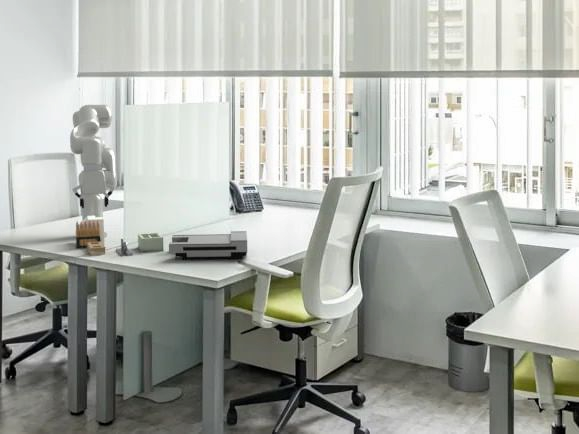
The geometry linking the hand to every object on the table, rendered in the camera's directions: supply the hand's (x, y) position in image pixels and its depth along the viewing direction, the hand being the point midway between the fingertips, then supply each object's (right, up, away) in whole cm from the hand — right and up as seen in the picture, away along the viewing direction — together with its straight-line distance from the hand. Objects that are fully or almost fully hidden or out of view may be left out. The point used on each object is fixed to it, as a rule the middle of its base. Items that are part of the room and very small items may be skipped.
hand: (94, 207), depth 321 cm
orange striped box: (-7, -16, +20) cm, 27 cm away
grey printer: (+49, -21, -1) cm, 54 cm away
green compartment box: (+22, -18, +9) cm, 30 cm away
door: (0, -19, +4) cm, 19 cm away
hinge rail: (+12, -19, +2) cm, 23 cm away
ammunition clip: (-6, -18, +12) cm, 22 cm away
